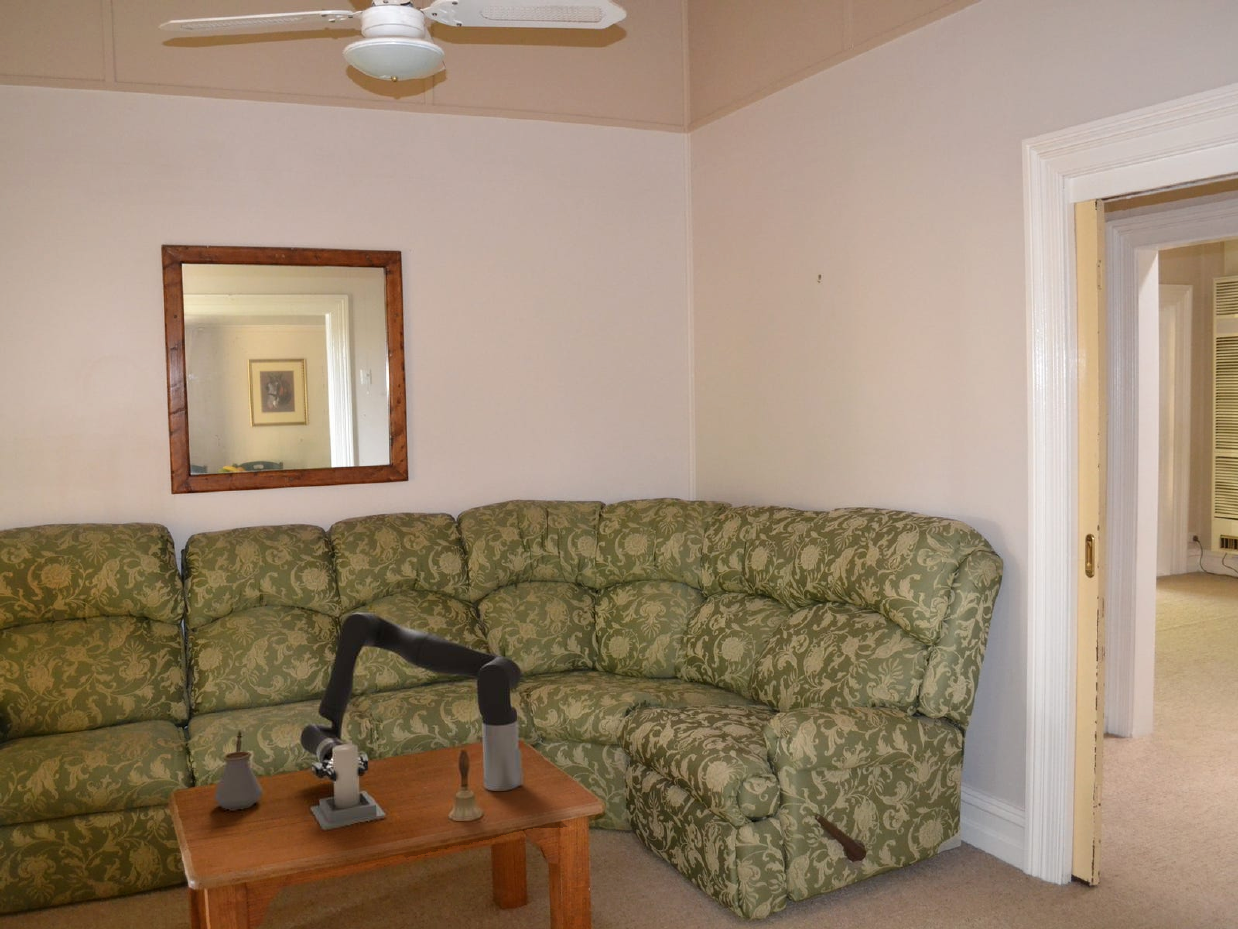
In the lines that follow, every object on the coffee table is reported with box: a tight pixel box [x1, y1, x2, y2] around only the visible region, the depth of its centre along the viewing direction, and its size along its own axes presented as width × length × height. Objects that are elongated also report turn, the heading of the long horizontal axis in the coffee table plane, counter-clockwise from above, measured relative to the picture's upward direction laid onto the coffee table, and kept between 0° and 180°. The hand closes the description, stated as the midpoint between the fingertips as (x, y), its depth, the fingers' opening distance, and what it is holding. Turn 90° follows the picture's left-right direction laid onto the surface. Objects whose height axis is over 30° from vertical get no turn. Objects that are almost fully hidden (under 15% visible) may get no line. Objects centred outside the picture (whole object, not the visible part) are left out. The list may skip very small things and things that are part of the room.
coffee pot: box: [214, 730, 263, 811], centre depth 273 cm, size 21×12×15 cm, turn 16°
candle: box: [333, 743, 360, 809], centre depth 259 cm, size 6×6×14 cm
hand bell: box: [448, 749, 484, 822], centre depth 256 cm, size 8×8×16 cm
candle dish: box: [310, 790, 387, 831], centre depth 260 cm, size 15×15×3 cm
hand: (348, 775), depth 257 cm, fingers closed on candle, 6 cm apart
